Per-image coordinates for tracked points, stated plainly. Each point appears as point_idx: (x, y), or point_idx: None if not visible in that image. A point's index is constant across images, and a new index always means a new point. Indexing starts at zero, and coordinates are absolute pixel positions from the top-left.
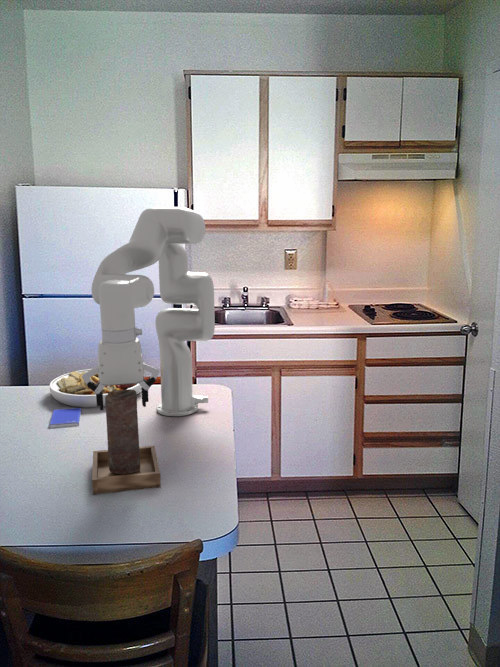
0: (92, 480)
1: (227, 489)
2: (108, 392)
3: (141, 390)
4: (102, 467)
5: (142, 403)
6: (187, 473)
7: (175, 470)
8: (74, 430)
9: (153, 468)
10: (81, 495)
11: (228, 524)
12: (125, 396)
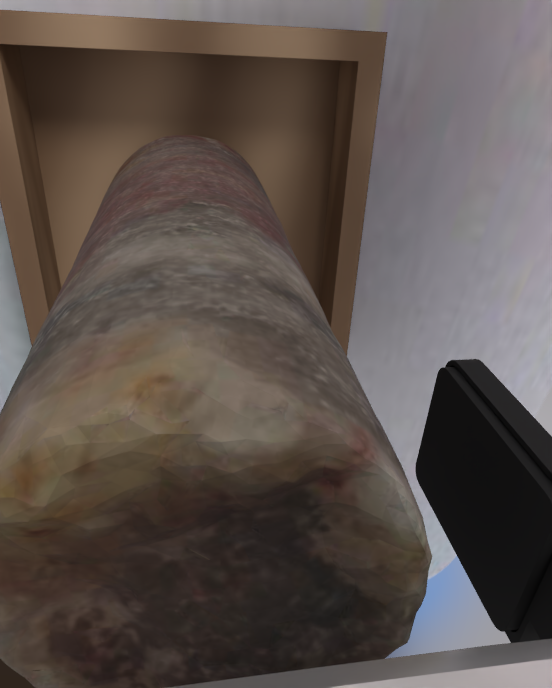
0: None
1: (531, 399)
2: None
3: (525, 477)
4: (61, 131)
5: (430, 453)
6: (456, 257)
7: (419, 216)
8: None
9: (327, 230)
10: (9, 361)
11: (450, 552)
12: None
